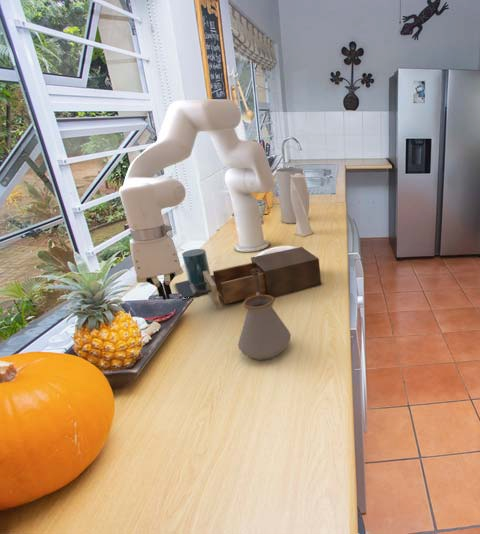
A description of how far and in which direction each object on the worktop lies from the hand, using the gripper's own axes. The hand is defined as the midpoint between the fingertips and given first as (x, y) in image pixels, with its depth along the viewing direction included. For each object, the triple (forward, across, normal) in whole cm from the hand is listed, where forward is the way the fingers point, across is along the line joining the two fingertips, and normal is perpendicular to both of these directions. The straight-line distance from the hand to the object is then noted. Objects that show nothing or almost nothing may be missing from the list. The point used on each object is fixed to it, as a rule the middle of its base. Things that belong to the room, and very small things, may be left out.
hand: (166, 297), depth 105 cm
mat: (+5, -10, -13) cm, 17 cm away
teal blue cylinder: (+4, -10, -13) cm, 17 cm away
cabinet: (+5, -33, +1) cm, 34 cm away
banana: (+5, -38, -18) cm, 42 cm away
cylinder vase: (+5, -63, -70) cm, 94 cm away
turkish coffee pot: (+5, -17, +29) cm, 34 cm away
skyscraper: (+5, -58, -46) cm, 74 cm away
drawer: (+4, -16, +1) cm, 17 cm away
